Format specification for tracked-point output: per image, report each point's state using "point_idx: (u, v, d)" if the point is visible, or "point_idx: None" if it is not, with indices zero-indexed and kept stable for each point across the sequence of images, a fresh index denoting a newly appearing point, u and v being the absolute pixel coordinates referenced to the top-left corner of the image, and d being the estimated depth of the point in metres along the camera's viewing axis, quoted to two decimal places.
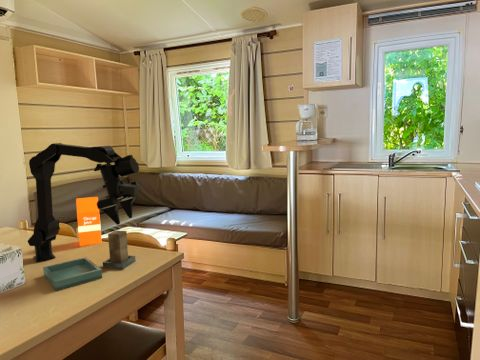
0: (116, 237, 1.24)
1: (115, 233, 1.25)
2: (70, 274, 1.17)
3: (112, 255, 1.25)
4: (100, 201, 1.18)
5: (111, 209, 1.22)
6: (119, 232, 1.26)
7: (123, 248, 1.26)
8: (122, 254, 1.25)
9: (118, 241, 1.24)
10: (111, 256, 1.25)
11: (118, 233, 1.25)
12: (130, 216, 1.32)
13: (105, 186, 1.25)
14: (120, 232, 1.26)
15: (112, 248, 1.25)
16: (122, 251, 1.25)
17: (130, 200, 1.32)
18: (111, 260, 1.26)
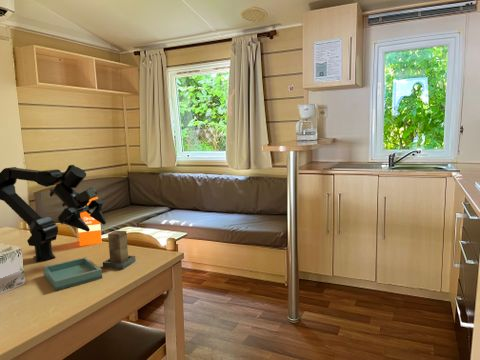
0: (116, 237, 1.24)
1: (115, 233, 1.25)
2: (70, 274, 1.17)
3: (112, 255, 1.25)
4: (59, 215, 1.20)
5: (75, 219, 1.23)
6: (119, 232, 1.26)
7: (123, 248, 1.26)
8: (122, 254, 1.25)
9: (118, 241, 1.24)
10: (111, 256, 1.25)
11: (118, 233, 1.25)
12: (104, 222, 1.32)
13: (64, 204, 1.27)
14: (120, 232, 1.26)
15: (112, 248, 1.25)
16: (122, 251, 1.25)
17: (97, 208, 1.33)
18: (111, 260, 1.26)
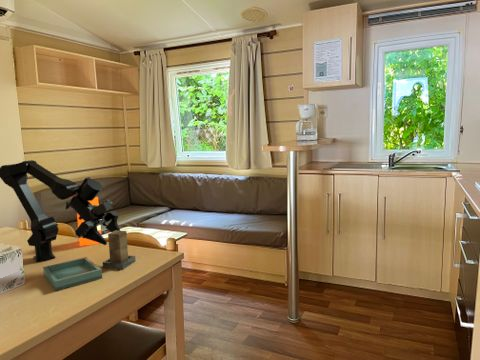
0: (116, 237, 1.24)
1: (115, 233, 1.25)
2: (70, 274, 1.17)
3: (112, 255, 1.25)
4: (77, 229, 1.19)
5: (92, 233, 1.22)
6: (119, 232, 1.26)
7: (123, 248, 1.26)
8: (122, 254, 1.25)
9: (118, 241, 1.24)
10: (111, 256, 1.25)
11: (118, 233, 1.25)
12: None
13: (80, 217, 1.26)
14: (120, 232, 1.26)
15: (112, 248, 1.25)
16: (122, 251, 1.25)
17: (113, 220, 1.32)
18: (111, 260, 1.26)
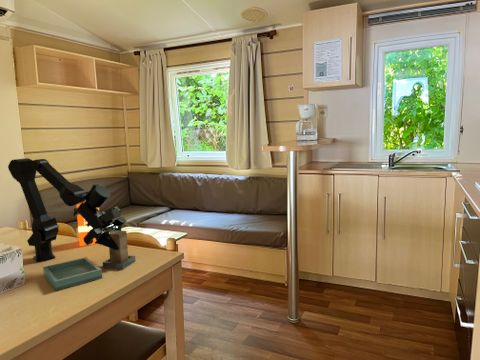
0: (116, 237, 1.24)
1: (115, 233, 1.25)
2: (70, 274, 1.17)
3: (112, 255, 1.25)
4: (85, 237, 1.19)
5: (104, 238, 1.23)
6: (119, 232, 1.26)
7: (123, 248, 1.26)
8: (122, 254, 1.25)
9: (118, 241, 1.24)
10: (111, 256, 1.25)
11: (118, 233, 1.25)
12: None
13: (88, 224, 1.26)
14: (120, 232, 1.26)
15: None
16: (122, 251, 1.25)
17: (117, 229, 1.29)
18: (111, 260, 1.26)
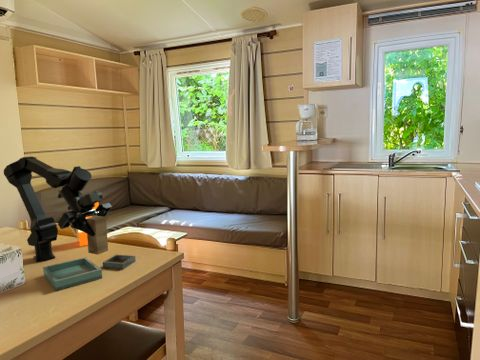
0: (92, 222, 1.17)
1: (92, 218, 1.18)
2: (70, 274, 1.17)
3: (89, 241, 1.19)
4: (59, 220, 1.14)
5: (81, 223, 1.18)
6: (97, 218, 1.19)
7: (101, 235, 1.19)
8: (99, 241, 1.19)
9: (94, 227, 1.17)
10: (89, 242, 1.19)
11: (95, 218, 1.18)
12: None
13: (69, 207, 1.21)
14: (98, 218, 1.19)
15: None
16: (99, 237, 1.18)
17: (98, 214, 1.23)
18: (89, 247, 1.20)
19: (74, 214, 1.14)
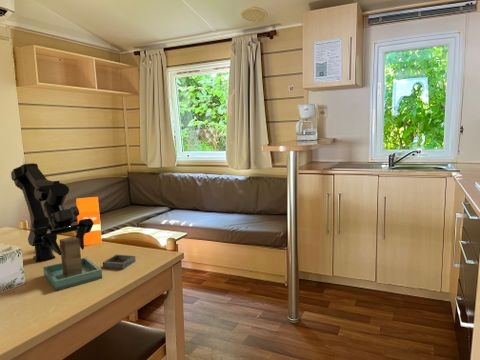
0: (63, 244, 1.13)
1: (65, 240, 1.15)
2: None
3: (62, 263, 1.16)
4: None
5: None
6: (70, 239, 1.15)
7: (73, 258, 1.15)
8: (70, 264, 1.14)
9: (65, 249, 1.13)
10: (62, 264, 1.16)
11: (67, 240, 1.14)
12: (81, 247, 1.18)
13: (49, 221, 1.20)
14: (71, 239, 1.15)
15: (62, 256, 1.15)
16: (70, 260, 1.14)
17: (79, 230, 1.20)
18: (63, 268, 1.16)
19: (44, 231, 1.12)
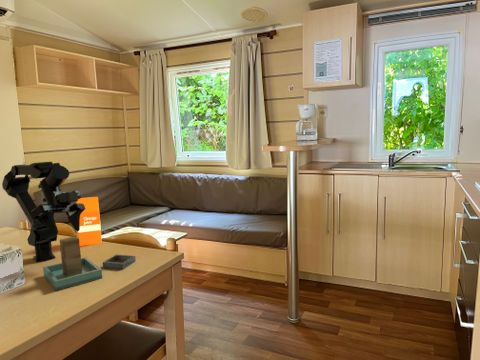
0: (63, 244, 1.13)
1: (65, 240, 1.15)
2: None
3: (62, 263, 1.16)
4: (33, 210, 1.16)
5: (47, 218, 1.18)
6: (70, 239, 1.15)
7: (73, 258, 1.15)
8: (70, 264, 1.14)
9: (65, 249, 1.13)
10: (62, 264, 1.16)
11: (67, 240, 1.14)
12: (77, 229, 1.27)
13: (44, 199, 1.24)
14: (71, 239, 1.15)
15: (62, 256, 1.15)
16: (70, 260, 1.14)
17: (76, 212, 1.28)
18: (63, 268, 1.16)
19: (49, 208, 1.17)
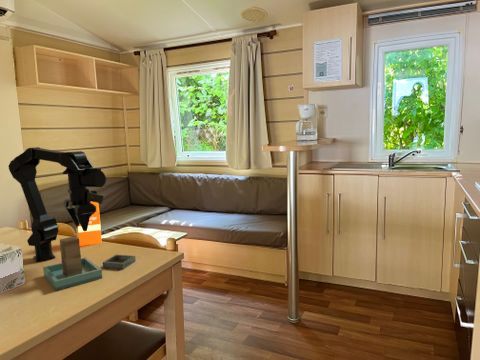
0: (63, 244, 1.13)
1: (65, 240, 1.15)
2: None
3: (62, 263, 1.16)
4: (83, 206, 1.19)
5: (84, 215, 1.23)
6: (70, 239, 1.15)
7: (73, 258, 1.15)
8: (70, 264, 1.14)
9: (65, 249, 1.13)
10: (62, 264, 1.16)
11: (67, 240, 1.14)
12: (78, 224, 1.32)
13: (74, 192, 1.23)
14: (71, 239, 1.15)
15: (62, 256, 1.15)
16: (70, 260, 1.14)
17: None
18: (63, 268, 1.16)
19: None
